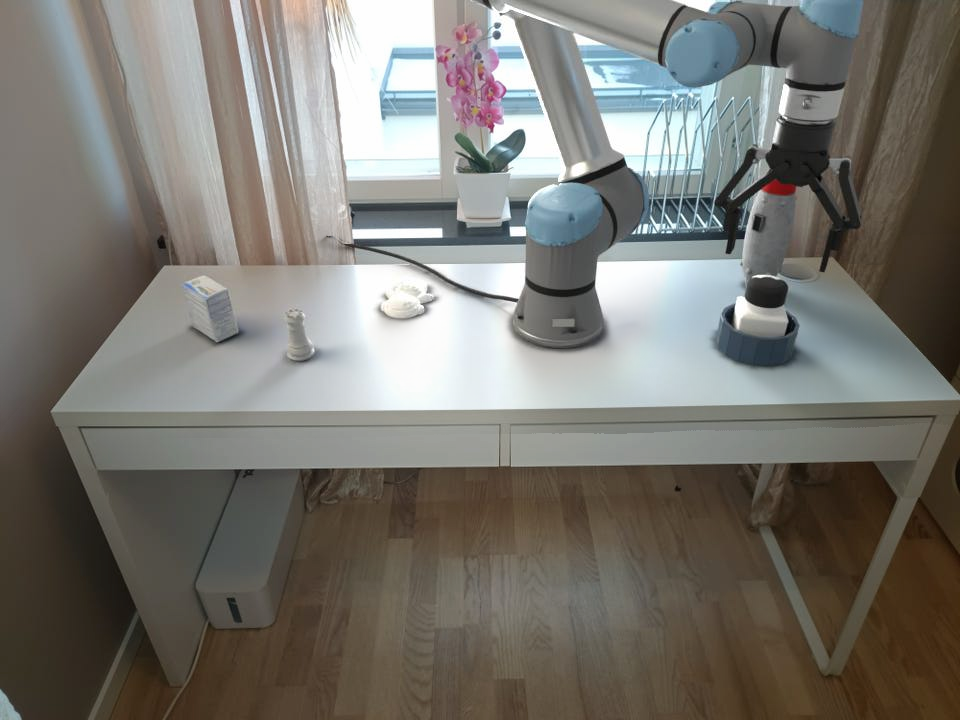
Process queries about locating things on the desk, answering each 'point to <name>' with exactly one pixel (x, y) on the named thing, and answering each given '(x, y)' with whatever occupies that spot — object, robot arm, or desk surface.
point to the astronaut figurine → (406, 300)
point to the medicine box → (210, 308)
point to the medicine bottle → (762, 307)
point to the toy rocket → (769, 230)
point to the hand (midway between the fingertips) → (775, 259)
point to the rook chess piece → (298, 337)
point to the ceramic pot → (755, 342)
